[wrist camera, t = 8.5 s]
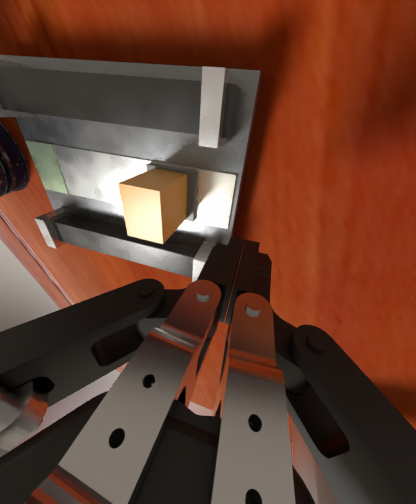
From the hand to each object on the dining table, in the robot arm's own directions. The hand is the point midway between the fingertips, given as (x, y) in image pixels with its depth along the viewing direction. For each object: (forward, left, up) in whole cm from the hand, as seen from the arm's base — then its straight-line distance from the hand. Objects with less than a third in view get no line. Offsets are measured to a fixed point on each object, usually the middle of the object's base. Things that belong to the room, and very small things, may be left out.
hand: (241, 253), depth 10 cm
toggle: (+7, 0, -7) cm, 10 cm away
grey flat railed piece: (+12, 0, -9) cm, 16 cm away
